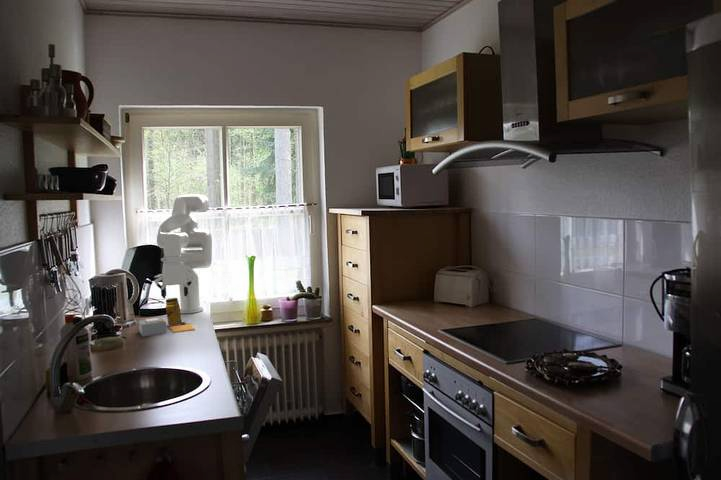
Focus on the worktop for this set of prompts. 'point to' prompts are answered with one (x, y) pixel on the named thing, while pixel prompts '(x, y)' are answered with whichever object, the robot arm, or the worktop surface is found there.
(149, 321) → the button
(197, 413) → the worktop surface
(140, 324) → the box
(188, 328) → the lockout pad
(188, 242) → the robot arm
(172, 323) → the condiment
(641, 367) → the worktop surface
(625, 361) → the worktop surface
